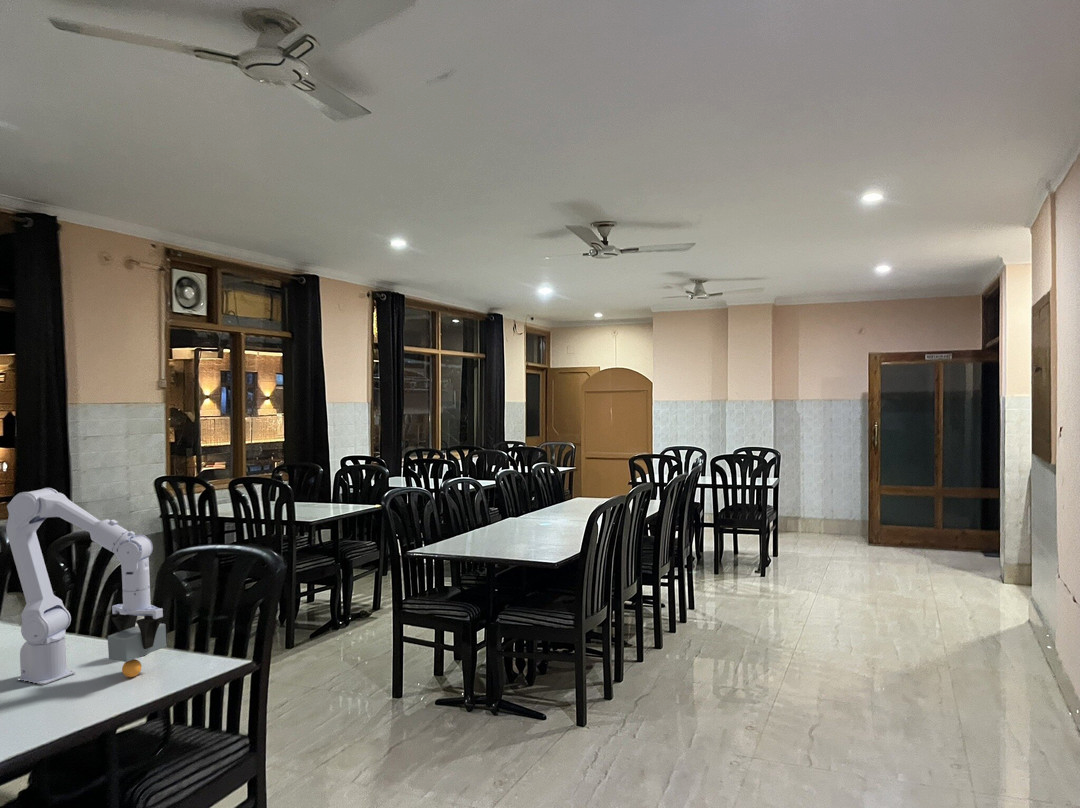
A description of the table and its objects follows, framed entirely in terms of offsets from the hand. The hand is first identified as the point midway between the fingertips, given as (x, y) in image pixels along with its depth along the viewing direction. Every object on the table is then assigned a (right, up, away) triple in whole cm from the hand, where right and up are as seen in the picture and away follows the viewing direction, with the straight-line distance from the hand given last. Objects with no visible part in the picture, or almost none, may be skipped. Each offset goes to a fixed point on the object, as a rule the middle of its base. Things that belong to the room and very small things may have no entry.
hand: (138, 646), depth 181 cm
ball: (-1, -5, -2) cm, 5 cm away
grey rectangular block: (0, -2, 0) cm, 2 cm away
